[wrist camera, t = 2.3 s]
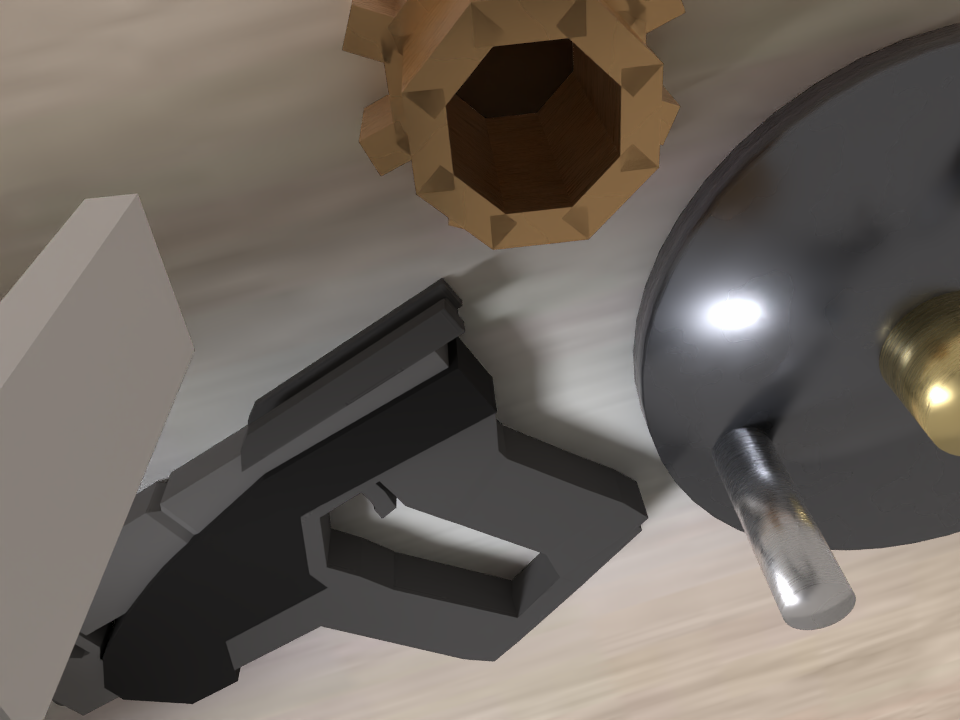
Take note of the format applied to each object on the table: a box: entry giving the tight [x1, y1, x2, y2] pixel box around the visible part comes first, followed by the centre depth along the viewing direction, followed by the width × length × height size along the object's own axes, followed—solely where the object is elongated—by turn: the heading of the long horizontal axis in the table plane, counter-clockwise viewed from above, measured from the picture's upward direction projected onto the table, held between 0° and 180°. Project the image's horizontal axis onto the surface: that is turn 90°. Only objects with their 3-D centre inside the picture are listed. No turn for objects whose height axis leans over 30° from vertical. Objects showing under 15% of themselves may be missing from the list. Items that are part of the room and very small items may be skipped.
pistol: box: [52, 278, 648, 715], centre depth 31 cm, size 2×26×15 cm
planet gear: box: [342, 0, 685, 250], centre depth 18 cm, size 8×8×6 cm
